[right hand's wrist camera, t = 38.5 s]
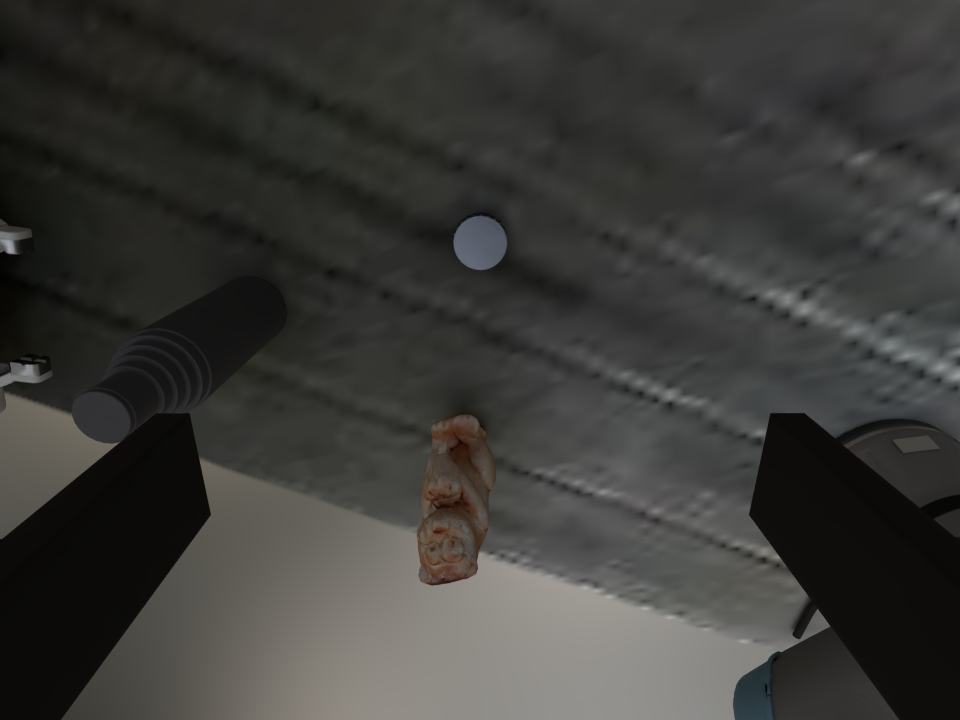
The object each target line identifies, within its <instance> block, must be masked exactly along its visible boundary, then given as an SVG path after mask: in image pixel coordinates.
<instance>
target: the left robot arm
mask: <svg viewBox="0 0 960 720" xmlns="http://www.w3.org/2000/svg"><path fill="white" fill-rule="evenodd" d="M32 251H34V245H33V237H32V231H31V229H28V228H21V227H14V226H8V225H7V223H6V222H4V221H3V220H1V219H0V253H1V252H6V253H8V254H24V253H26V252H32ZM10 366H11V371H9V370H10V369H9V365H8V364H3V363H0V413H1V412H2V411H4V409H5V407H6V401H5V396H4V390H3V386H5V385H7V384H10V383H12V382H14V381H20V382H28V383H39V382H42V381H44V380H46V379H48V378H50V377H52V368H51V363H50V357H48V356H42V357H40V356H39V355H34V354H27V355H25V356H23V357H21V359H16V360H14V361H12V362H10Z"/></svg>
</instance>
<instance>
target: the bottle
mask: <svg viewBox="0 0 960 720" xmlns="http://www.w3.org/2000/svg"><path fill="white" fill-rule="evenodd" d="M285 320H286V307H285V303H284V301H283V298H282V297H281V295H280V293H279V292H278V291H277V290H276V289H275V288H274V287H273V286H272V285H271V284H269V283H268V282H266V281H264V280H262V279H259V278H255V277H241V278H237V279H235V280H233V281H231V282H229V283H227V284H225V285H223V286H221V287H220V288H218V289H216V290H214V291H212V292H210V293H208V294H207V295H205V296H203V297H201V298H199V299H197V300H195V301H194V302H192V303H190V304H188V305H186V306H184V307H182V308H181V309H179V310H177V311H175V312H173V313H171V314H169V315H168V316H166V317H164V318H162V319H160V320H158V321H156V322H155V323H153V324H151V325H149V326H147V327H145V328H143V329H142V330H140V331H138V332H136V333H134V334H133V335H131V336H130V337H129V338H128V339H127V340H126V341H125V342H124V343H123V344H122V345H121V346H120V347H119V348H118V350H117V351H116V353H115V355H114V357H113V358H112V360H111V362H110V365H109V366H108V368H107V370H106V372H105V374H104V376H103V377H102V379H101V382H100V383H99V384H97V385H95V386H94V387H91V388H88V389H86V390H84V391H82V392H81V393H80V394H78V395H77V396H76V398H75V400H74V402H73V406H72V416H73V419H74V422H75V424H76V425H77V427H78V428H79V429H80V430H81V431H82V432H83V433H84V434H85V435H87V436H88V437H90V438H92V439H94V440H96V441H99V442H103V443H111V444H112V443H118V442H121V441H122V440H124V439H125V438H126V437H127V436H128V435H130V434H131V433H132V432H133V431H135V429H136V428H137V427H138V426H139V425H140V424H143V423H144V422H146V421H147V420H148V419H149V418H150V417H152V416H153V415H154V414H155V413H186V412H188V411H190V410H192V409H194V408H196V407H198V406H199V405H200V404H202V403H203V402H204V401H205V400H206V399H207V398H208V397H209V396H210V395H211V394H212V393H213V392H215V391H216V390H217V389H218V388H219V387H220V386H221V385H222V384H223V383H224V382H225V381H227V380H228V379H229V378H230V377H231V376H232V375H233V374H234V373H235V372H236V371H237V370H238V369H240V368H241V367H242V366H243V365H244V364H245V363H246V362H247V361H248V360H249V359H250V358H252V357H253V356H254V355H255V354H256V353H257V352H258V351H259V350H260V349H261V348H262V347H263V346H265V345H266V344H267V343H268V342H269V341H270V340H271V339H272V338H273V337H274V336H275V335H277V334H278V333H279V332H280V330H281V329H282V327H283V326H284V323H285Z"/></svg>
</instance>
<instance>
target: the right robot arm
mask: <svg viewBox="0 0 960 720" xmlns="http://www.w3.org/2000/svg"><path fill="white" fill-rule="evenodd" d="M210 515H211V513H210V508H209V503H208V499H207V494H206V489H205V484H204V480H203V475H202V470H201V466H200V461H199V456H198V451H197V446H196V442H195V437H194V432H193V428H192V423H191V418H190V413H155V414H154V415H153V416H152V417H150V418H149V419H148V420H147V421H146V422H144V423H143V424H142V425H141V426H139V427H138V428H137V429H136V430H135V431H133V432H132V433H131V434H130V435H128V436H127V437H126V438H125V439H124V440H122V441H121V442H120V443H119V444H118V445H116V446H115V447H114V448H113V449H111V450H110V451H109V452H108V453H107V454H105V455H104V456H103V457H102V458H100V459H99V460H98V461H97V462H96V463H94V464H93V465H92V466H91V467H89V468H88V469H87V470H86V471H85V472H83V473H82V474H81V475H80V476H78V477H77V478H76V479H75V480H74V481H72V482H71V483H70V484H69V485H67V486H66V487H65V488H64V489H63V490H61V491H60V492H59V493H58V494H57V495H55V496H54V497H53V498H52V499H50V500H49V501H48V502H47V503H46V504H44V505H43V506H42V507H41V508H39V509H38V510H37V511H36V512H35V513H33V514H32V515H31V516H30V517H29V518H27V519H26V520H25V521H24V522H22V523H21V524H20V525H19V526H17V527H16V528H15V529H14V530H13V531H11V532H10V533H9V534H8V535H7V536H5V537H4V538H3V539H0V720H61V719H62V718H63V716H64V715H65V713H66V712H67V711H68V709H69V708H70V707H71V705H72V704H73V702H74V701H75V700H76V698H77V697H78V696H79V694H80V693H81V692H82V690H83V689H84V687H85V686H86V685H87V683H88V682H89V681H90V679H91V678H92V677H93V675H94V674H95V672H96V671H97V670H98V668H99V667H100V666H101V664H102V663H103V662H104V660H105V659H106V657H107V656H108V655H109V653H110V652H111V651H112V649H113V648H114V646H115V645H116V644H117V642H118V641H119V640H120V638H121V637H122V636H123V634H124V633H125V631H126V630H127V629H128V627H129V626H130V625H131V623H132V622H133V621H134V619H135V618H136V616H137V615H138V614H139V612H140V611H141V610H142V608H143V607H144V606H145V604H146V603H147V601H148V600H149V599H150V597H151V596H152V595H153V593H154V592H155V591H156V589H157V588H158V586H159V585H160V584H161V582H162V581H163V580H164V578H165V577H166V575H167V574H168V573H169V571H170V570H171V569H172V567H173V566H174V565H175V563H176V562H177V560H178V559H179V558H180V556H181V555H182V553H183V552H184V551H185V550H186V548H187V547H188V545H189V544H190V543H191V541H192V540H193V539H194V537H195V536H196V534H197V533H198V532H199V530H200V529H201V528H202V526H203V525H204V524H205V522H206V521H207V519H208V518H209V517H210ZM749 515H750V517H751V518H752V519H753V521H754V522H755V524H756V525H757V526H758V528H759V529H760V530H761V532H762V533H763V535H764V536H765V537H766V539H767V540H768V541H769V543H770V544H771V545H772V547H773V548H774V550H775V551H776V552H777V554H778V555H779V556H780V558H781V559H782V560H783V562H784V563H785V565H786V566H787V567H788V569H789V570H790V571H791V573H792V574H793V575H794V577H795V578H796V580H797V581H798V582H799V584H800V585H801V586H802V588H803V589H804V591H805V592H806V593H807V595H808V596H809V597H810V599H811V600H812V601H811V602H810V604H809V605H808V607H807V608H806V610H805V612H804V613H803V615H802V617H801V619H800V621H799V623H798V625H797V627H796V628H795V630H794V632H793V636H794V637H795V638H797V639H800V638H801V636H802V635H803V633H804V631H805V629H806V627H807V625H808V624H809V622H810V620H811V618H812V616H813V615H814V613H815V612H816V610H817V609H818V610H819V611H820V612H821V614H822V615H823V616H824V618H825V619H826V621H827V622H828V623H829V625H830V627H828V628H827V629H825V630H823V631H821V632H819V633H817V634H815V635H813V636H811V637H809V638H808V639H806V640H804V641H802V642H800V643H798V644H796V645H794V646H792V647H791V648H789V649H787V650H785V651H783V652H776V653H774V654H772V655H771V656H770V657H769V659H768V661H767V662H765V663H764V664H762V665H760V666H759V667H757V668H755V669H754V670H752V671H751V672H749V673H747V674H746V675H744V676H743V677H742V678H741V679H740V680H739V681H738V683H737V685H736V688H735V692H734V699H733V708H734V716H735V720H960V443H959V442H958V441H957V440H956V439H954V438H952V437H951V436H949V435H947V434H946V433H944V432H943V431H941V430H939V429H938V428H936V427H934V426H931V425H929V424H926V423H923V422H918V421H913V420H887V421H881V422H876V423H872V424H869V425H865V426H863V427H860V428H857V429H855V430H853V431H851V432H849V433H847V434H845V435H843V436H842V437H840V438H838V439H837V440H836V439H835V438H834V437H833V436H832V435H830V434H829V433H828V432H827V431H825V430H824V429H823V428H822V427H821V426H819V425H818V424H817V423H816V422H814V421H813V420H812V419H811V418H810V417H808V416H807V415H806V414H805V413H770V418H769V423H768V428H767V432H766V437H765V442H764V446H763V451H762V456H761V461H760V465H759V470H758V475H757V480H756V484H755V489H754V494H753V499H752V503H751V508H750V513H749Z"/></svg>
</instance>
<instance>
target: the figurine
mask: <svg viewBox="0 0 960 720" xmlns="http://www.w3.org/2000/svg"><path fill="white" fill-rule="evenodd" d="M431 434H432V440H433V442H432V447H431V448H432V452H431V453H430V455H429V457H428V459H427V463H426V473H427V475H426V477H425V479H424V481H423V487H422V500H421V512H422V517H423V523H422V524H421V526H420V527H419V529H418V532H417V540H418V551H419V557H420V563H421V567H420V569H419V578H420V580H421V582H423V583H426V584H429V585H440V584H446V583H451V582H455V581H459V580H462V579H467V578H469V577H471V576H473V575H475V574H476V572H477V570H478V565H477V559H478V552H479V549H480V547H481V545H482V542H483V540H484V539H485V537H486V533H487V530H488V524H489V513H488V495H489V492H490V490H491V489H492V488H493V486H494V484H495V479H496V466H495V461H494V458H493V455H492V453H491V450H490V449H489V447H488V446H487V445H486V443H485V440H486V432H485V431H484V430H483V429H482V428H481V427H480V424H479V422H478V420H477V419H476V418H475V417H474V416H472V415H458V416H455V417H451V418H448V419H445V420H441V421H438V422H436V423H435V424H433V426H432V427H431Z"/></svg>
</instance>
